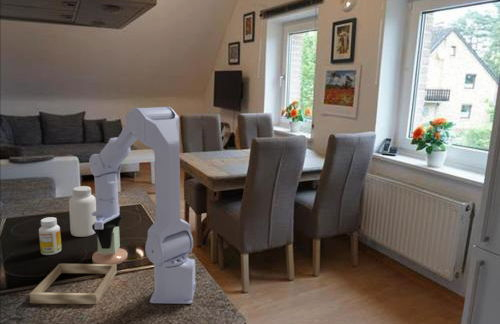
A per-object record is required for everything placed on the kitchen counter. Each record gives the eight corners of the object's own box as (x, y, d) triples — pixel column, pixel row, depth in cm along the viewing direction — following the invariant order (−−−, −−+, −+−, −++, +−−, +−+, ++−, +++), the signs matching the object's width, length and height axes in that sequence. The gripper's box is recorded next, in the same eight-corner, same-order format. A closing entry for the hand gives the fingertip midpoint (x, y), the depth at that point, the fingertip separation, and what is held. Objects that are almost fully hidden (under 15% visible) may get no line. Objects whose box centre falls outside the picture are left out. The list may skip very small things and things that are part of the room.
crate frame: (116, 272, 101) (116, 264, 101) (96, 304, 87) (96, 295, 86) (59, 271, 101) (59, 263, 100) (30, 303, 86) (29, 294, 86)
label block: (119, 246, 110) (119, 226, 109) (114, 253, 106) (113, 232, 104) (103, 246, 110) (102, 225, 109) (98, 253, 106) (97, 232, 104)
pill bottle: (93, 237, 122) (90, 191, 119) (66, 237, 121) (63, 191, 118) (100, 228, 130) (98, 184, 127) (76, 228, 129) (73, 184, 126)
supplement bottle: (56, 245, 115) (54, 214, 113) (65, 251, 112) (62, 219, 110) (37, 251, 111) (34, 219, 109) (45, 257, 108) (43, 224, 106)
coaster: (130, 251, 113) (130, 248, 113) (121, 266, 104) (121, 262, 104) (99, 251, 113) (99, 247, 112) (87, 265, 104) (87, 261, 104)
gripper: (101, 189, 112) (103, 233, 114) (81, 205, 97) (84, 255, 100) (126, 189, 112) (127, 234, 115) (109, 206, 98) (111, 256, 100)
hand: (109, 244), depth 107 cm, fingers closed on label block, 4 cm apart
